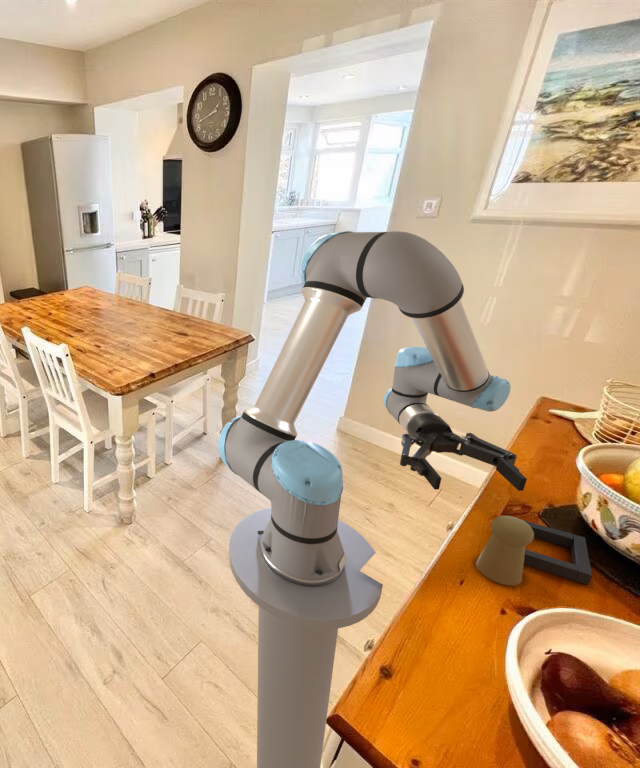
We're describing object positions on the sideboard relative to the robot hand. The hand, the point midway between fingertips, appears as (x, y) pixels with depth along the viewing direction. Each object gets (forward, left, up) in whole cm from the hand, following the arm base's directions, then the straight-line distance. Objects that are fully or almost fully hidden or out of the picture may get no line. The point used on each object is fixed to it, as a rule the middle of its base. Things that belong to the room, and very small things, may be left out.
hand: (479, 484), depth 75 cm
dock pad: (+11, +1, -11) cm, 16 cm away
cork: (+5, -8, -11) cm, 15 cm away
